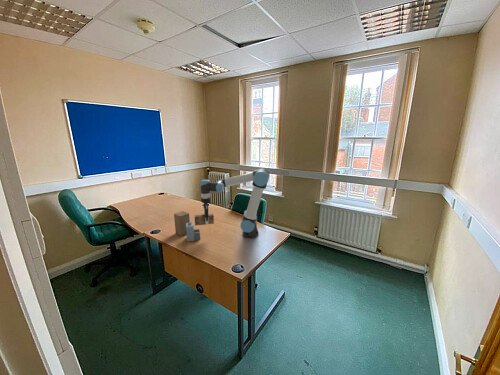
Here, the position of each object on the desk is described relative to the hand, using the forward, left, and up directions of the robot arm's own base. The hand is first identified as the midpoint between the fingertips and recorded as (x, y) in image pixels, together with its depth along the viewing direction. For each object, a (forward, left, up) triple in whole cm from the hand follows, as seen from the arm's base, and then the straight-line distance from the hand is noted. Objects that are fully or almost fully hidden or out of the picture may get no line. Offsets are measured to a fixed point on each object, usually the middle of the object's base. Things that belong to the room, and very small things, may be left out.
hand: (206, 222), depth 184 cm
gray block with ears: (+12, -3, -15) cm, 19 cm away
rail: (+2, 0, -1) cm, 2 cm away
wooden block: (+22, -17, -15) cm, 31 cm away
